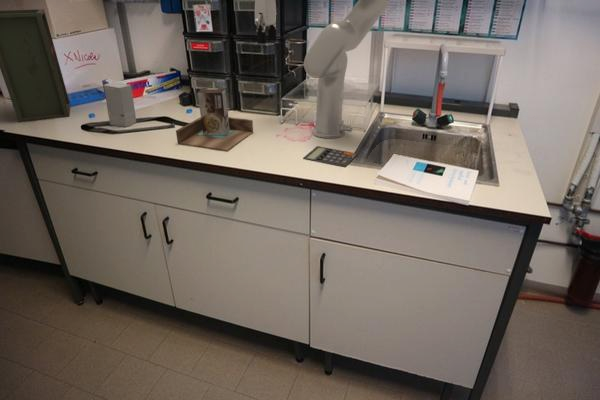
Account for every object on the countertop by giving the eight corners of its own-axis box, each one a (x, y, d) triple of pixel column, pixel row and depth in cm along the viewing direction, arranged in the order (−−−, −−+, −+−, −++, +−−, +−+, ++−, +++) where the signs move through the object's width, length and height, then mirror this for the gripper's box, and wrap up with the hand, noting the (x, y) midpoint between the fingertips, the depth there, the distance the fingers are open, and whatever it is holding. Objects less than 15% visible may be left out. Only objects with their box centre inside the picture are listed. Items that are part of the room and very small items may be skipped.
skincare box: (109, 125, 164) (100, 85, 156) (122, 119, 170) (114, 81, 162) (126, 127, 161) (117, 87, 153) (139, 122, 167) (131, 83, 159)
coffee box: (230, 130, 157) (226, 87, 149) (226, 136, 151) (222, 92, 143) (206, 129, 157) (201, 87, 149) (202, 135, 152) (197, 91, 144)
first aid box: (23, 110, 181) (-10, 10, 161) (70, 105, 188) (43, 9, 168) (18, 122, 166) (-19, 14, 147) (69, 116, 173) (40, 13, 154)
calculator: (345, 166, 129) (302, 157, 135) (345, 168, 130) (302, 160, 136) (357, 152, 138) (317, 145, 144) (357, 155, 139) (317, 147, 145)
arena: (253, 132, 157) (252, 120, 154) (227, 151, 140) (226, 137, 138) (207, 126, 163) (206, 114, 160) (177, 143, 146) (175, 130, 144)
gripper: (266, -10, 157) (267, 38, 165) (245, -8, 143) (248, 44, 151) (284, -10, 154) (284, 39, 163) (265, -8, 140) (266, 45, 149)
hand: (267, 41), depth 157 cm, fingers open, 9 cm apart
